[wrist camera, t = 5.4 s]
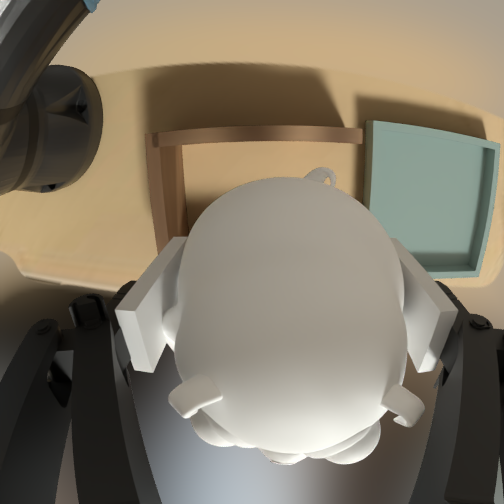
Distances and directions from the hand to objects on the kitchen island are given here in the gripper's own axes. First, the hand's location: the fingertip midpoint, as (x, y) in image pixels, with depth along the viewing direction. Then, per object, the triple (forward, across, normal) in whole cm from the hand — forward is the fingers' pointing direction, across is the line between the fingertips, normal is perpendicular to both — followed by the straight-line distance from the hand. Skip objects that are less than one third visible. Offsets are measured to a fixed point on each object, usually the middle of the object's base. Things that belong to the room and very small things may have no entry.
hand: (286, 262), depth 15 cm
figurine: (+2, 0, 0) cm, 2 cm away
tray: (+16, +16, 0) cm, 22 cm away
